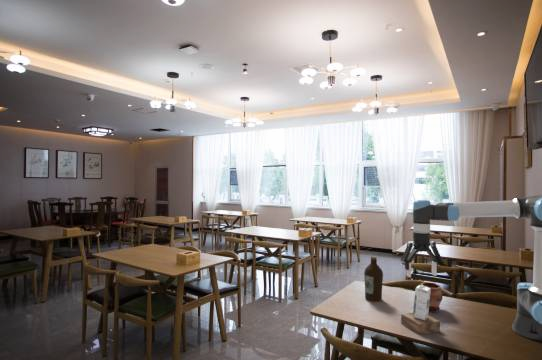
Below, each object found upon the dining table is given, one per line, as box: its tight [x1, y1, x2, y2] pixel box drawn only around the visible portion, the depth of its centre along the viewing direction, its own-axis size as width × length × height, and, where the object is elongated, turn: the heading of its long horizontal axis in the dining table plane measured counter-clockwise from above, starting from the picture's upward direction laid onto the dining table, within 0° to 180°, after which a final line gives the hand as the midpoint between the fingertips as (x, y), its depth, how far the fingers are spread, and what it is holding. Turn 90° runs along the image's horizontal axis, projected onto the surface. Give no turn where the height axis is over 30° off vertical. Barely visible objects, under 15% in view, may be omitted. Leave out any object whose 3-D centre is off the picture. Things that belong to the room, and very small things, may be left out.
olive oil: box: [363, 256, 384, 303], centre depth 193 cm, size 11×11×25 cm
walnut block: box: [400, 312, 441, 335], centre depth 156 cm, size 12×12×5 cm
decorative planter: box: [419, 281, 443, 313], centre depth 177 cm, size 20×12×14 cm, turn 148°
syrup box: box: [412, 284, 431, 320], centre depth 156 cm, size 6×6×14 cm
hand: (421, 275), depth 156 cm, fingers open, 13 cm apart
